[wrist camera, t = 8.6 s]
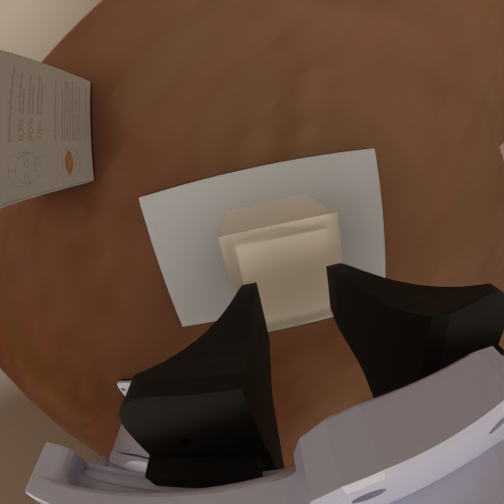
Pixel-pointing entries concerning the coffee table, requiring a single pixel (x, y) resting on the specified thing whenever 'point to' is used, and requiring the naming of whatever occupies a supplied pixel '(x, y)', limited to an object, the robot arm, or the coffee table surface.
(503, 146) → the long white block
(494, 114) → the coffee table surface
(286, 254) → the beige cardboard cube
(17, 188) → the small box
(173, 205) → the base board
